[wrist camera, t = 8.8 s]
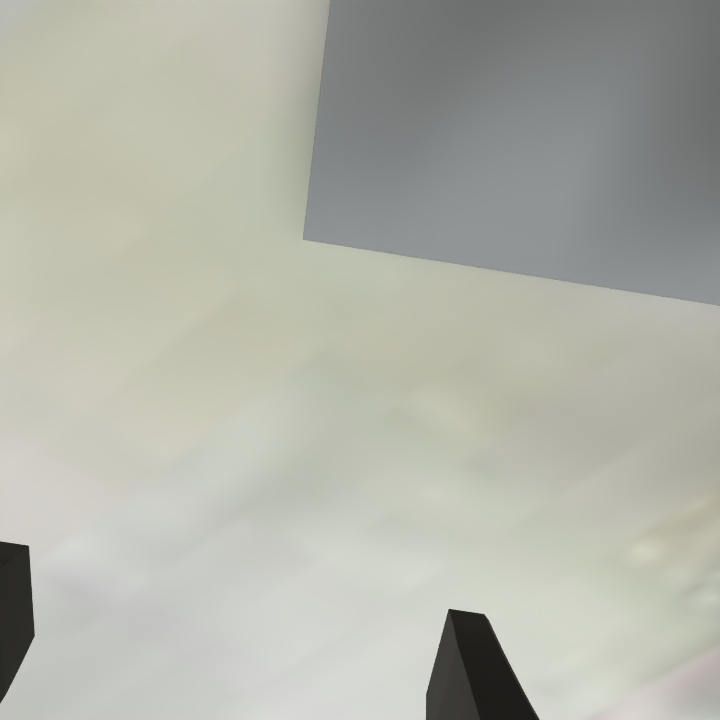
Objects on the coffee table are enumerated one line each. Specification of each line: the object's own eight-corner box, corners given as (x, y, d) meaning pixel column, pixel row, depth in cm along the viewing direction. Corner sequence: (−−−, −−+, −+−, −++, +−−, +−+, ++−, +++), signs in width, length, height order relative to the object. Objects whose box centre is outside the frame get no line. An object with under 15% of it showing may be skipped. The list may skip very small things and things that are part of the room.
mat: (1026, -302, 13) (1044, -313, 13) (769, 310, 18) (777, 314, 18) (380, -414, 13) (379, -428, 13) (304, 236, 18) (302, 239, 18)
